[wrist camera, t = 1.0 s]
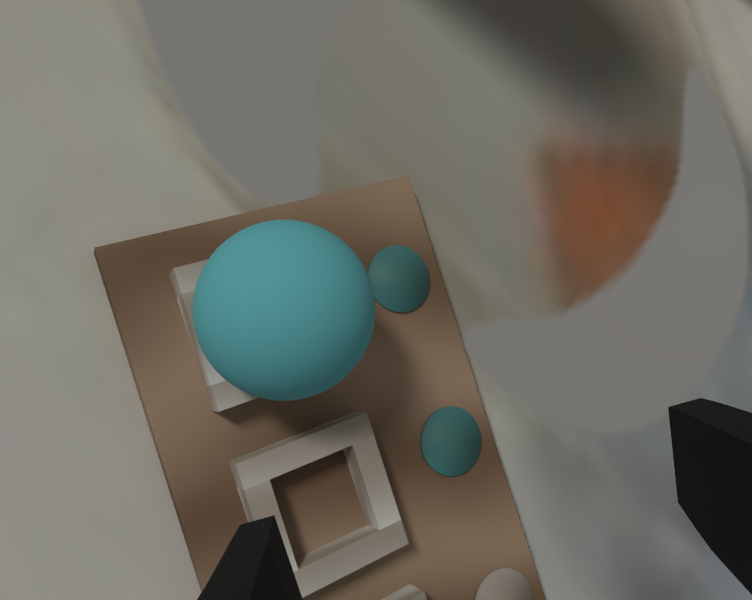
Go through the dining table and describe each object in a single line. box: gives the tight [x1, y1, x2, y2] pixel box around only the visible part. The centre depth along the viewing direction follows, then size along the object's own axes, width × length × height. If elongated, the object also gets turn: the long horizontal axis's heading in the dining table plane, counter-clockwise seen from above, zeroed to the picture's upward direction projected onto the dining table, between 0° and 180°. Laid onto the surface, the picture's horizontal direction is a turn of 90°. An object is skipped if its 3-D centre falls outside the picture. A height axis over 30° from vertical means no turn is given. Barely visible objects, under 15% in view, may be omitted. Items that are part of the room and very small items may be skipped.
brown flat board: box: [94, 176, 545, 600], centre depth 22 cm, size 19×11×2 cm, turn 20°
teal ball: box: [193, 219, 375, 401], centre depth 19 cm, size 5×5×5 cm
